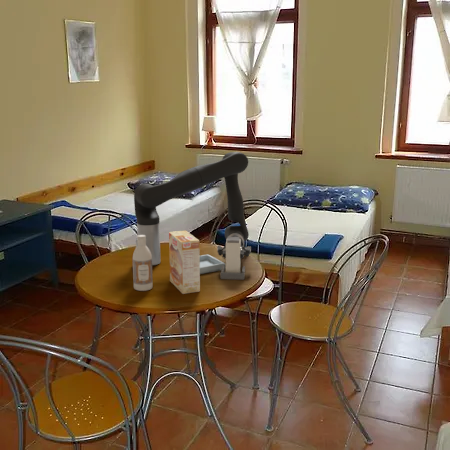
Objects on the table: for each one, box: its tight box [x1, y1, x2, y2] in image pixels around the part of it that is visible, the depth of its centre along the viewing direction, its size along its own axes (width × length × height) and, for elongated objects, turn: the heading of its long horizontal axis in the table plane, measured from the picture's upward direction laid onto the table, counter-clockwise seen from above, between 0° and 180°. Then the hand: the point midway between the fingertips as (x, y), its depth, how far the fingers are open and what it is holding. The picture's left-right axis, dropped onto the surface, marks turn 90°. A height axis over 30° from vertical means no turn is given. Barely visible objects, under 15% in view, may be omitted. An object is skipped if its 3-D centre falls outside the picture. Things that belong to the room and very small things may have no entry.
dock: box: [220, 265, 246, 281], centre depth 215 cm, size 8×9×2 cm
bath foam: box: [132, 235, 154, 292], centre depth 199 cm, size 7×7×20 cm
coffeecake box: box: [168, 230, 201, 295], centre depth 201 cm, size 15×7×20 cm, turn 23°
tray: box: [200, 254, 226, 275], centre depth 224 cm, size 14×14×3 cm
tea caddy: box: [225, 237, 241, 273], centre depth 214 cm, size 6×6×15 cm
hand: (233, 256), depth 211 cm, fingers closed on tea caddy, 5 cm apart
